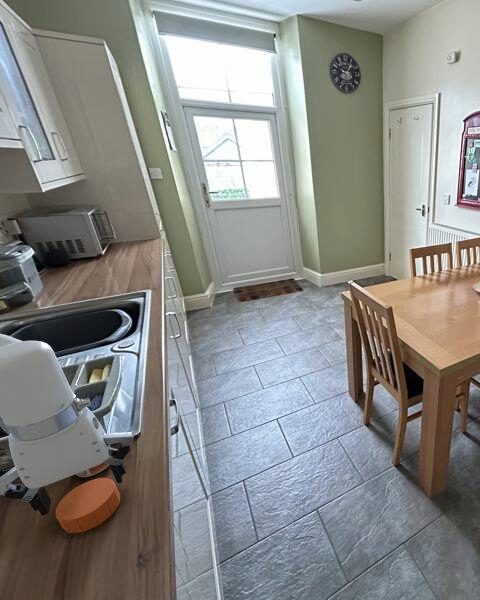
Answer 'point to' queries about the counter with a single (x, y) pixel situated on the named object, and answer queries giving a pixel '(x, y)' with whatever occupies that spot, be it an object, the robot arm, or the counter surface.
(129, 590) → the counter surface
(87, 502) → the cap
